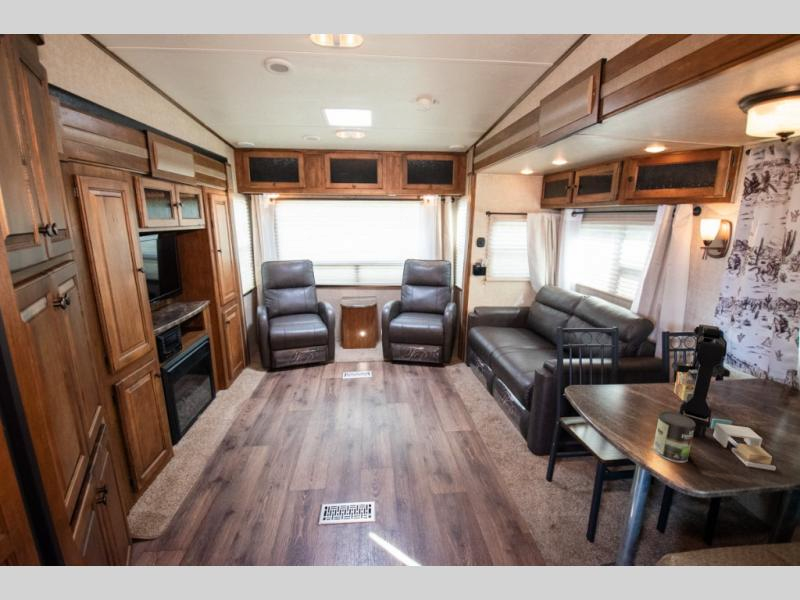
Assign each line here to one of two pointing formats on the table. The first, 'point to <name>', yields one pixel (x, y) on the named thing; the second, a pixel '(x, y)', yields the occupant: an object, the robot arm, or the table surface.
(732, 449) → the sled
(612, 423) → the table surface
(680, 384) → the candy box
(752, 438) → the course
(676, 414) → the coffee can
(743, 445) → the block
